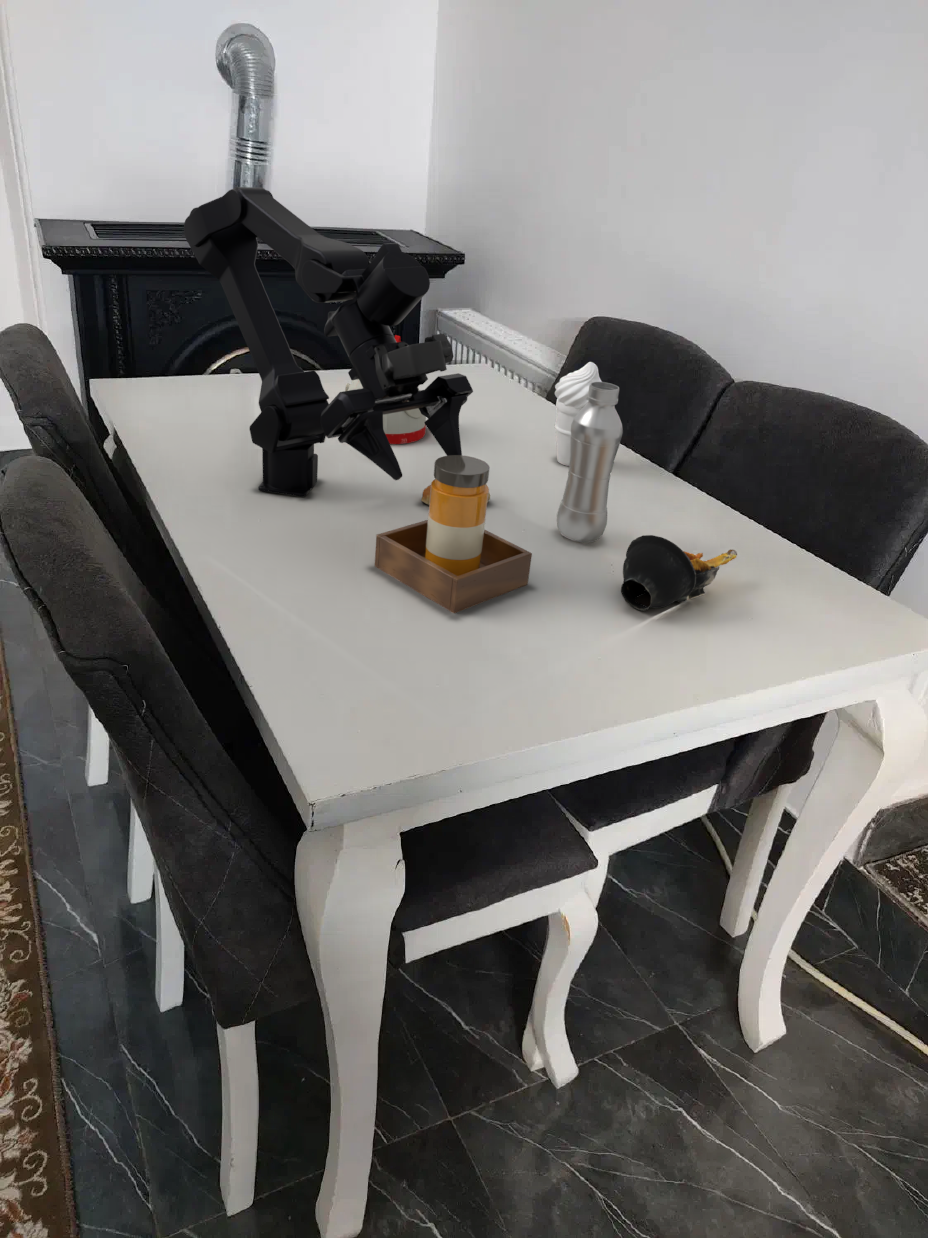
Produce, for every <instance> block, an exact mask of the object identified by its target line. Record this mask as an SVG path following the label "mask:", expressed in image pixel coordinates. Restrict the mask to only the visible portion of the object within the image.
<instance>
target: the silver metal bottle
mask: <svg viewBox="0 0 928 1238" xmlns="http://www.w3.org/2000/svg"><path fill="white" fill-rule="evenodd" d="M619 394H620V387H619V386H618V385H616V384H613V383H610V382H605V381H602V382H592V383H590V385H589V391H588V394H587V397H586V399H587V400H588V403H587V404H586V405H585V406H584V407H583V408H582V409H581V410H580V411H579V412H578V414H577V415H576V416H575V417H574V419H573V422H572V424H571V442H570V462H569V466H568V473H567V479H566V483H565V488H564V491H563V495H562V499H561V501H560V503H559V507H558V509H557V513H556V527H557V529H558V531H559V533H560V535H561V536H563V537H564V538H566V539H568V540H571V541H574V542H579V543H592V542H596V541H598V540H599V539H600V538H601V537H602V536H603V535H604V533H605V530H606V527H607V525H608V498H609V486H610V480H611V474H612V473H613V467H614V462H615V461H616V456H617V453H618V449H619V448H620V445H621V441H622V437H623V434H624V430H623V423H622V421H621V417H620V415H619V414H618V412H617V409H616V407H615V406H616V405H618V403H619Z"/></svg>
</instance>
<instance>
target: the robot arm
mask: <svg viewBox="0 0 928 1238" xmlns="http://www.w3.org/2000/svg"><path fill="white" fill-rule="evenodd" d="M183 233H184V238H185V240H186V243H187V244H188V245H189V248H190V249H191V251H192V253H193V255H194V256H195V258H196V260H197V262H198V264H199V265H200V266H201V267H202V268H203V269H204V270H206V271H207V272H209V274H211V275H212V276H213V277H214V278H216V279H217V280H218V281H219V283H220V284H221V285H220V286H221V287H222V289H223V292H224V295H225V297H226V299H227V301H228V304H229V306H230V308H231V311H232V313H233V315H234V317H235V320H236V323H237V325H238V328H239V330H240V332H241V334H242V336H243V339H244V341H245V344H246V346H247V349H248V351H249V353H250V356H251V358H252V361H253V363H254V365H255V367H256V370H257V372H258V374H259V378H260V380H261V385H260V391H259V397H258V406H259V410H260V413H259V415H258V416H257V417H256V418H255V420H253V422H252V423H251V424H250V425H249V433H250V434H249V435H250V438H251V443H252V444H254V445H255V446H258V447H259V448H261V451H262V454H261V455H262V461H261V462H262V482H261V483H260V484H259V485H258V486H257V487H258V489H257V490H258V491H260V492H267V493H273V494H281V495H287V496H295V497H301V498H303V497H306V496H307V495H308V493H310V491H311V490H312V489H313V488H314V487H315V485H316V484H317V483H318V471H319V469H318V467H319V466H318V465H319V455H318V454H317V453H315V444H324V443H325V441H326V438H327V439H333V438H337V441H338V442H339V443H340V444H343V443H345V444H346V445H348V446H350V447H351V448H353V449H354V450H356V451H357V452H359V453H360V454H361V455H363V456H365V458H367V459H368V460H369V461H371V462H372V463H373V464H374V465H376V466H377V467H378V468H379V469H381V470H382V471H383V472H384V473H386V474H387V475H388V476H389V477H391V478H392V479H393V480H394V481H400V480H401V478H402V477H403V472H402V469H401V466H400V464H399V461H398V459H397V457H396V454H395V452H394V450H393V447H392V444H390V443H389V441H388V439H387V437H386V434H385V432H384V429H383V415H385V414H390V413H395V412H401V411H406V410H412V409H417V408H419V410H420V412H421V414H422V415H424V416H425V417H426V418H427V419H426V421H425V422H424V423H425V425H426V428H427V429H428V431H429V432H430V434H431V435H432V436H433V438H434V439H435V440H436V442H437V444H438V445H439V447H440V448H441V449H442V451H443V452H444V454H445V456H449V455H462V456H463V452H462V443H461V442H462V441H461V433H460V412H461V409H462V406H463V405H464V404H466V403H467V402H468V397H469V396H470V395H472V393H474V389H473V388H472V385H471V384H470V381H469V380H468V377H467V376H466V375H465V374H462V373H452V374H445V375H438V376H437V377H436V378H435V379H433V381H431V382H430V384H428V385H427V386H426V387H425V389H420V388H419V386H420V385H421V386H422V385H424V384H425V383H426V382H427V381H428V380H429V378H428V374H429V375H430V374H431V373H436V372H446V371H447V370H448V368H447V364H448V363H451V362H452V361H453V359H454V350H453V345H452V344H451V342H450V341H449V339H448V337H447V335H446V334H445V333H437V334H433V335H432V336H426V337H424V342H417V343H413V344H408V343H407V342H406V341H404V340H403V341H400V342H396V340H395V335H394V333H393V332H392V329H391V327H394V326H397V325H400V323H401V322H402V321H403V320H404V319H405V318H406V317H407V316H408V315H409V313H410V312H411V311H412V310H413V309H414V308H415V307H416V305H417V304H418V303H419V302H420V301H421V300H422V299H423V297H425V295H426V294H427V293H428V291H429V290H430V285H431V282H430V276H429V274H428V271H427V269H426V268H425V267H424V266H422V264H421V263H420V262H419V261H418V260H417V259H416V258H415V257H414V256H412V255H410V254H408V253H407V252H404V251H403V250H402V248H401V246H400V245H399V243H398V242H392V243H387V242H386V243H382V245H380V247H379V248H378V250H377V252H376V254H375V256H374V258H373V259H372V260H371V261H370V259H369V257H368V255H367V254H366V253H365V251H363V250H362V249H361V248H359V247H356V246H355V245H351V244H349V243H348V242H346V241H341V240H337V239H333V238H329V237H326V236H325V235H322V234H320V233H319V232H318V231H316V230H315V229H313V227H311V226H310V225H309V224H307V223H306V222H305V221H303V220H302V219H301V218H300V217H298V216H297V215H296V214H294V213H293V212H292V211H291V210H289V209H288V208H287V207H286V206H285V205H283V204H282V203H280V202H279V201H278V200H277V199H275V198H274V196H273V194H272V192H271V191H270V190H267V189H265V188H263V187H256V186H253V187H250V186H236V187H234V188H232V189H229V190H228V191H227V192H225V193H224V194H223V195H222V196H219V197H217V198H215V199H212V200H210V201H208V202H205V203H203V204H201V205H199V206H196V207H194V208H192V210H191V211H190V213H189V215H188V216H187V217H186V218H185V220H184V224H183ZM258 239H260V240H261V242H263V243H264V244H265V245H266V246H268V247H269V248H270V249H272V250H273V251H274V252H275V253H276V254H278V255H279V256H280V257H281V258H282V259H284V260H285V261H286V262H287V263H289V264H290V265H291V267H292V268H293V269H294V272H295V273H294V274H295V282H296V283H297V284H298V285H299V286H300V288H301V289H302V290H303V291H304V293H305V294H306V295H307V297H309V298H310V300H311V301H313V302H315V303H316V304H326V303H327V304H328V303H339V302H342V303H341V304H340V305H339V307H338V308H337V310H334V311H329V312H328V313H327V321H326V323H325V325H324V328H323V334H324V336H325V337H337V336H338V337H339V338H338V339H339V340H340V343H341V344H342V347H343V348H344V351H345V353H346V354H347V357H348V359H349V361H350V363H351V366H352V367H351V369H350V370H349V371H348V372H347V374H348V376H349V378H350V380H351V381H353V380H357V379H359V380H360V382H361V385H362V387H363V388H362V389H356V390H350V391H345V390H344V391H339V393H338V394H337V395H335V397H334V398H333V399H332V400H331V401H330V402H329V401H328V400H329V399H330V396H329V395H328V394H327V393H326V390H325V388H324V387H323V384H322V380H321V377H320V375H319V374H318V373H317V371H316V370H307V371H305V370H304V369H302V368H300V366H299V365H298V364H297V362H296V359H295V357H294V355H293V353H292V350H291V348H290V345H289V343H288V341H287V338H286V335H285V333H284V331H283V328H282V326H281V325H280V321H279V319H278V317H277V315H276V312H275V310H274V308H273V306H272V303H271V301H270V297H269V296H268V294H267V291H266V289H265V287H264V284H263V281H262V279H261V277H260V275H259V272H258V270H257V267H256V259H257V256H258V255H257V253H258V250H259V249H258V248H259V242H258ZM418 388H419V389H418ZM418 390H420V391H418ZM407 401H408V402H407Z"/></svg>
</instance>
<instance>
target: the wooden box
mask: <svg viewBox="0 0 928 1238" xmlns="http://www.w3.org/2000/svg"><path fill="white" fill-rule="evenodd" d="M427 523H428V519H426V520H422V521H419V522H415V523H412V524H408V525H405V526H401V527H397V528H395V529H391V530H388V531H385V532H381V533H377V534H376V536H375V553H374V554H375V555H374V567H375V568H376V569H378V570H380V571H381V572H383V573H385V574H386V575H388V576H390V577H391V578H393V579H395V580H397V581H398V582H399V583H402V584H403V585H405V586H406V587H408V588H410V589H412V590H413V591H415V592H417V593H419V594H420V595H422V596H423V597H425V598H427V599H428V600H431V601H432V602H433V603H435V604H437V605H439V606H441V608H444V609H445V610H447V611H449V612H450V613H452V614H456V613H459V612H461V611H464V610H467V609H469V608H472V607H474V606H477V605H479V604H482V603H484V602H487V601H489V600H492V599H495V598H498V597H500V596H503V595H505V594H507V593H511V592H513V591H516V590H518V589H520V588H523V587H525V586H528V584H529V577H530V571H531V563H532V557H533V552H530V551H528V550H527V549H524V548H522V547H521V546H519V545H516V544H515V543H513V542H510V541H509V540H507V539H504V538H502V537H500V536H498V535H497V534H495V533H493V532H490V531H489V530H486V529H484V537H483V545H482V552H481V561H480V568H479V569H477V570H474V571H471V572H468V573H465V574H462V575H460V576H456V575H454V574H453V573H451V572H449V571H447V570H446V569H444V568H442V567H440V566H438V565H437V564H435V563H433V562H431V561H429V560H428V559H426V558H425V549H426V535H427Z"/></svg>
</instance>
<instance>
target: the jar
mask: <svg viewBox="0 0 928 1238" xmlns="http://www.w3.org/2000/svg"><path fill="white" fill-rule="evenodd" d="M433 477H434V479H433V480H432V481H431V483H430V485H431V490H430V502H429V505H428V513H427V520H428V523H427V535H426V549H425V558H426V559H428V560H429V561H431V562H433V563H435V564H437V565H438V566H440V567H442V568H444V569H446V570H447V571H449V572H451V573H453V574H454V575H456V576H460V575H462V574H465V573H468V572H471V571H474V570H477V569H479V568H480V561H481V552H482V545H483V537H484V529H485V527H486V520H487V519H486V517H487V509H488V503H489V501H488V493H490V487H489V486H488V481H489V477H490V465H489V464H488V463H487V462H486V461H485V460H482V459H480V458H477V457H473V456H468V455H463V454H462V455H449V456H447V455H443V456H440V457H438V458H436V459H435V461H434V467H433ZM486 484H487V485H486ZM485 530H486V529H485Z"/></svg>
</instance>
